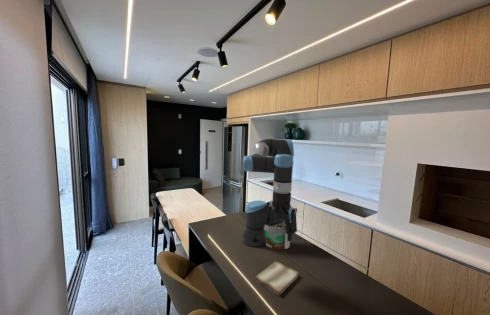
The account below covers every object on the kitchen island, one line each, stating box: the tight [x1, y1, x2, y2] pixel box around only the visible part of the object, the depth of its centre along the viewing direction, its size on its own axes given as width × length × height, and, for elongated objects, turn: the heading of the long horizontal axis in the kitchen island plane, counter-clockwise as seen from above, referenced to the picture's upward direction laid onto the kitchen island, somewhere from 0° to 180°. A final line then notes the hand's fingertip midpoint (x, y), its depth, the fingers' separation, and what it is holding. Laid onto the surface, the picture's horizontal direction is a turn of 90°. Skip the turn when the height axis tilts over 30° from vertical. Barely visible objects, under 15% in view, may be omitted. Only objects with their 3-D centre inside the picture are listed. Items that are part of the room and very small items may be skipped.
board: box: [254, 260, 300, 297], centre depth 87 cm, size 12×16×2 cm
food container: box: [264, 223, 287, 251], centre depth 85 cm, size 12×6×10 cm, turn 118°
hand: (279, 243), depth 86 cm, fingers closed on food container, 7 cm apart
